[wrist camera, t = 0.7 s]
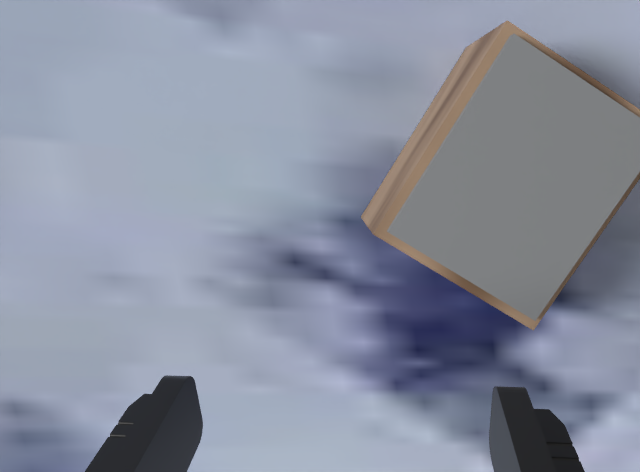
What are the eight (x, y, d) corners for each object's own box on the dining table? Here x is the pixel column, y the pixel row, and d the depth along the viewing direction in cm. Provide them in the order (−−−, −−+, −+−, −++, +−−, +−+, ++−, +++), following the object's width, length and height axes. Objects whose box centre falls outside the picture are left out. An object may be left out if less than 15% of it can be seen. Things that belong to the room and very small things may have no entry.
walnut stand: (360, 217, 32) (374, 236, 25) (466, 47, 30) (511, 17, 24) (490, 295, 33) (537, 333, 26) (599, 135, 31) (679, 131, 25)
